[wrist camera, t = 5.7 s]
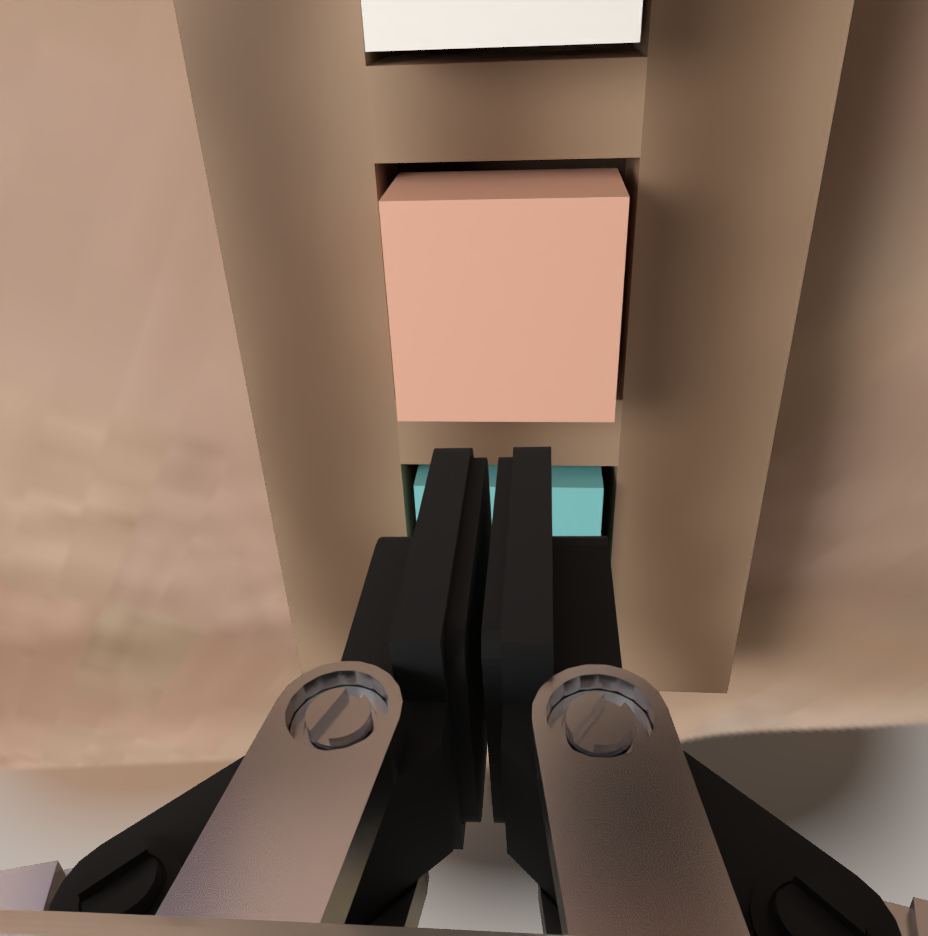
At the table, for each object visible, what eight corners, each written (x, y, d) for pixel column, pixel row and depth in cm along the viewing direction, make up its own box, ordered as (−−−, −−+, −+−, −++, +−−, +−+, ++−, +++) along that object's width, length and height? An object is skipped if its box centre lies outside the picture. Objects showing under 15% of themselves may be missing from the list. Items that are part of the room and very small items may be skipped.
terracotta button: (617, 167, 19) (629, 196, 17) (605, 370, 22) (614, 422, 19) (399, 172, 20) (378, 201, 17) (413, 370, 22) (397, 421, 20)
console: (887, -482, 15) (960, -579, 12) (710, 629, 29) (727, 693, 26) (152, -419, 16) (79, -494, 13) (322, 619, 30) (302, 679, 27)
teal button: (596, 434, 24) (603, 487, 22) (589, 571, 27) (594, 632, 25) (426, 433, 25) (413, 485, 22) (435, 567, 28) (424, 628, 25)
